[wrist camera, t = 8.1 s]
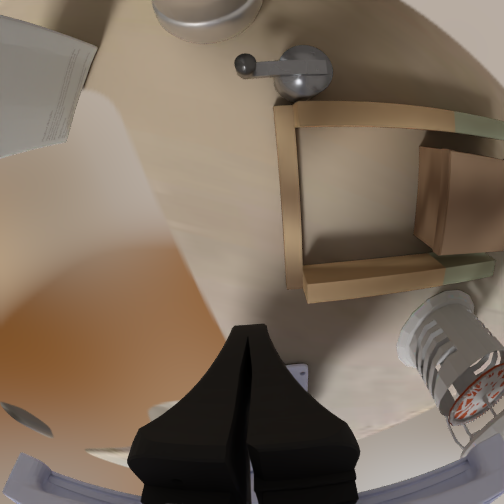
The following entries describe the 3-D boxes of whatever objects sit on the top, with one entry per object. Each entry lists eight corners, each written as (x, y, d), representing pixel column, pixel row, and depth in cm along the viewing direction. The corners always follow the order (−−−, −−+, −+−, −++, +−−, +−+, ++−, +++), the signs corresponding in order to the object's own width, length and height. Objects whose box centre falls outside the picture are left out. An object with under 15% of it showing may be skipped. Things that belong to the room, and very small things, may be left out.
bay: (474, 262, 22) (492, 276, 19) (286, 284, 23) (290, 305, 20) (484, 120, 17) (506, 122, 15) (273, 107, 18) (276, 102, 15)
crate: (473, 233, 21) (503, 252, 17) (411, 235, 22) (439, 256, 17) (481, 154, 19) (515, 161, 15) (417, 144, 19) (450, 149, 15)
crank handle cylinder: (320, 101, 18) (347, 89, 12) (242, 106, 18) (237, 93, 12) (315, 61, 17) (340, 34, 11) (238, 65, 17) (231, 36, 11)
